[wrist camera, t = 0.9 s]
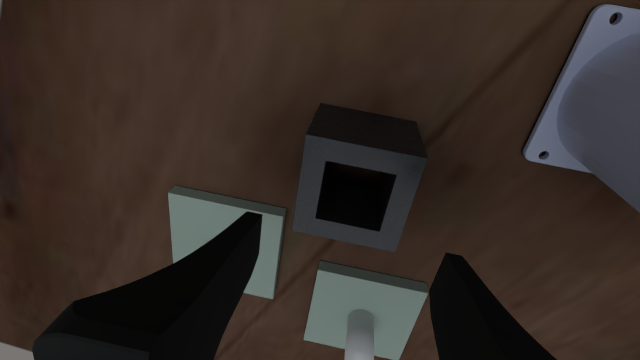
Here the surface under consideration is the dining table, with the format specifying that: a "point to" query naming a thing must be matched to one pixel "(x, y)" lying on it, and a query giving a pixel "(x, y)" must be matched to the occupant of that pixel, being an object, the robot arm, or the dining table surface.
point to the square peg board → (363, 311)
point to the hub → (353, 195)
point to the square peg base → (215, 216)
